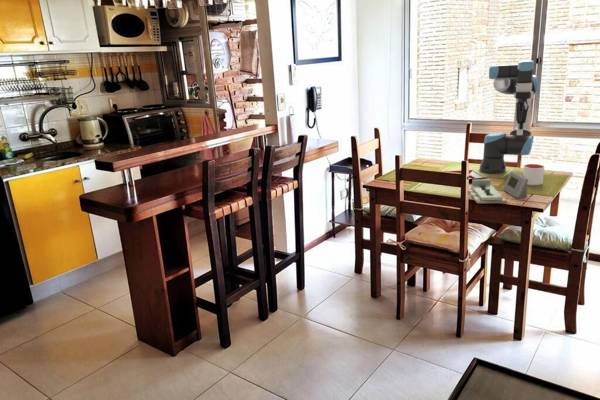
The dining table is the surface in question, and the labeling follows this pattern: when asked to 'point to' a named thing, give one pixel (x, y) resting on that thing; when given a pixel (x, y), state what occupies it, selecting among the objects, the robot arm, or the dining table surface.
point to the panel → (481, 194)
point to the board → (486, 194)
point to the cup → (533, 174)
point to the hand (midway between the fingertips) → (519, 134)
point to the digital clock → (516, 185)
